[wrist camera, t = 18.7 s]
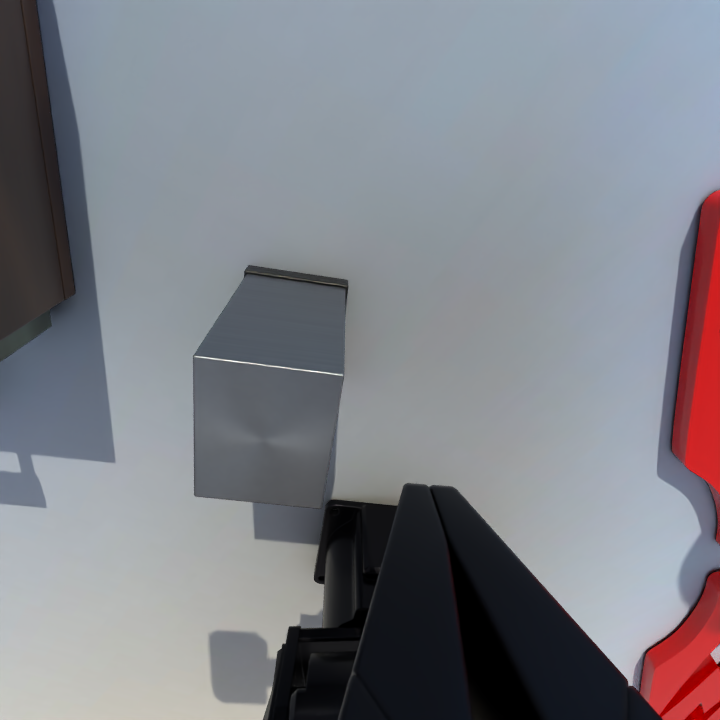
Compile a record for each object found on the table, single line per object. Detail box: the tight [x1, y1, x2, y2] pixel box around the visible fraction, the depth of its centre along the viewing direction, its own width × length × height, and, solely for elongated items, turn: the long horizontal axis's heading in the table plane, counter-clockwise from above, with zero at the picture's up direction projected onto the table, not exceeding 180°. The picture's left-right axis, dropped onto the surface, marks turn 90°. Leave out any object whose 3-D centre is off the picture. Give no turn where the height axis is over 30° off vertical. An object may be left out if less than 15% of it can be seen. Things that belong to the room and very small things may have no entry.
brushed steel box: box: [193, 265, 348, 509], centre depth 17 cm, size 5×4×8 cm
